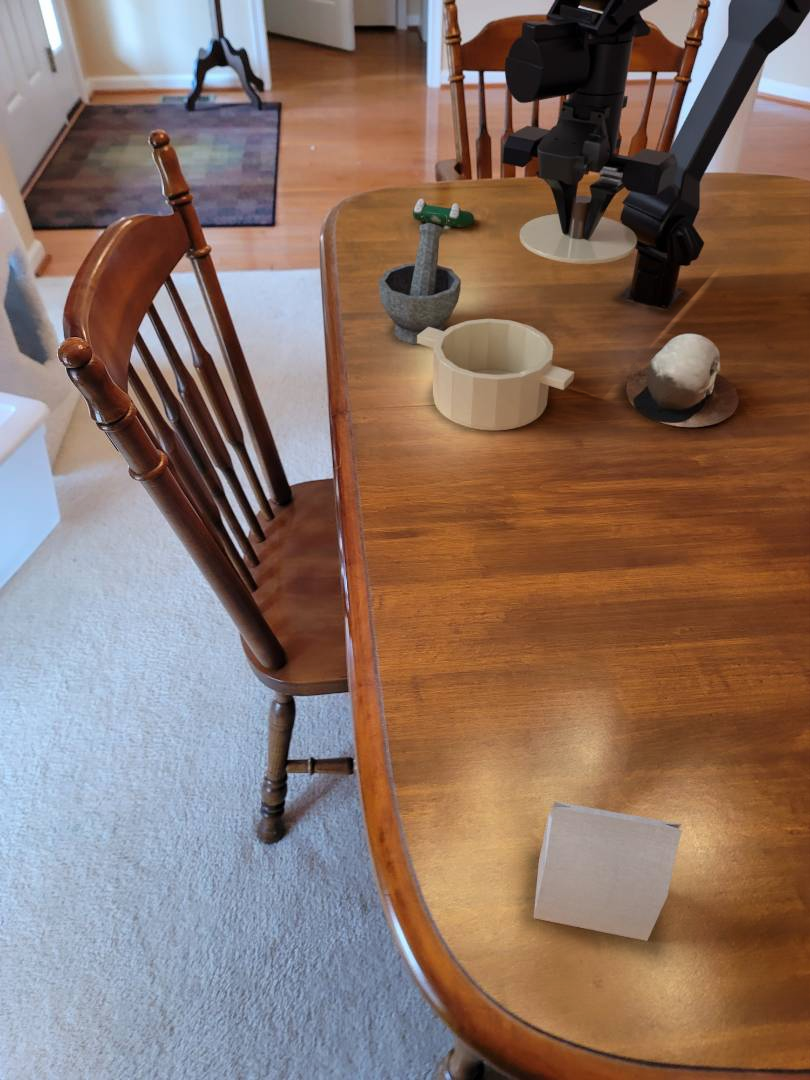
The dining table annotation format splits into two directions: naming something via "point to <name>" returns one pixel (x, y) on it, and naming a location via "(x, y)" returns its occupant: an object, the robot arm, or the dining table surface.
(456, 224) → the green toy car
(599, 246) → the lid
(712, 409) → the skull
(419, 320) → the mortar and pestle
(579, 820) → the white rectangular box
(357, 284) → the dining table surface
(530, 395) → the pot
